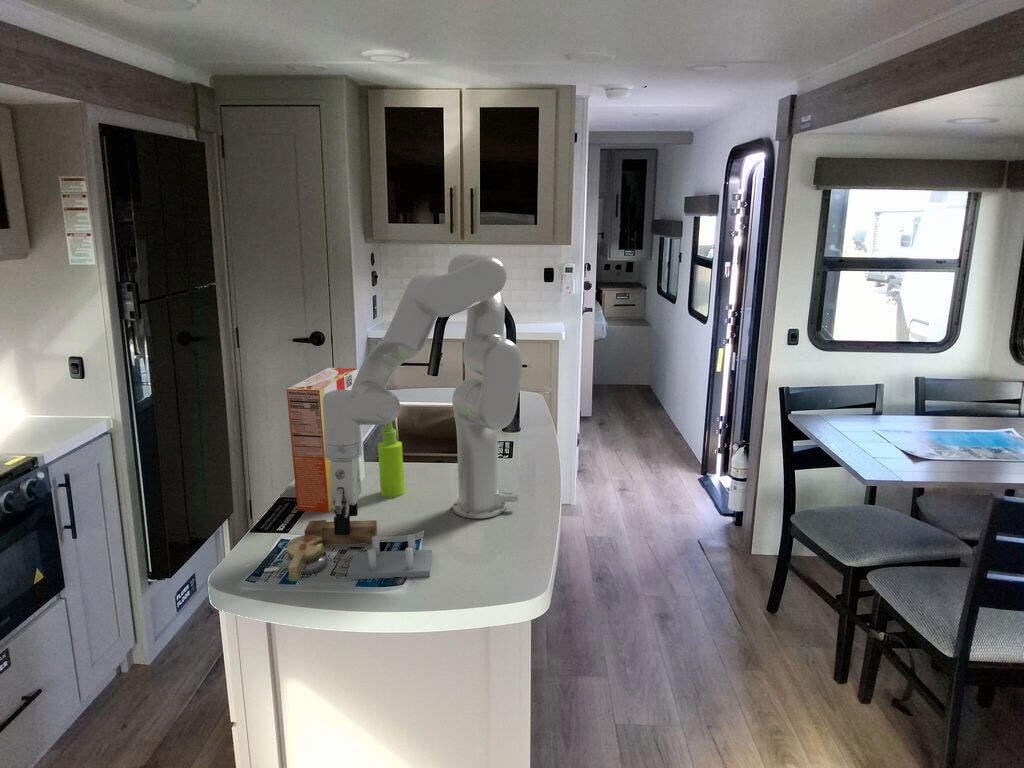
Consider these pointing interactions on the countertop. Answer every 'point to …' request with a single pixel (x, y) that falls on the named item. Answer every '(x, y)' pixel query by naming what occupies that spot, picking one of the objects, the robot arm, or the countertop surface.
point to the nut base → (307, 565)
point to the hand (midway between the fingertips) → (346, 524)
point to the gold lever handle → (303, 553)
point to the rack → (390, 562)
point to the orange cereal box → (314, 437)
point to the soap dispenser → (391, 464)
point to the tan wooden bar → (358, 535)
